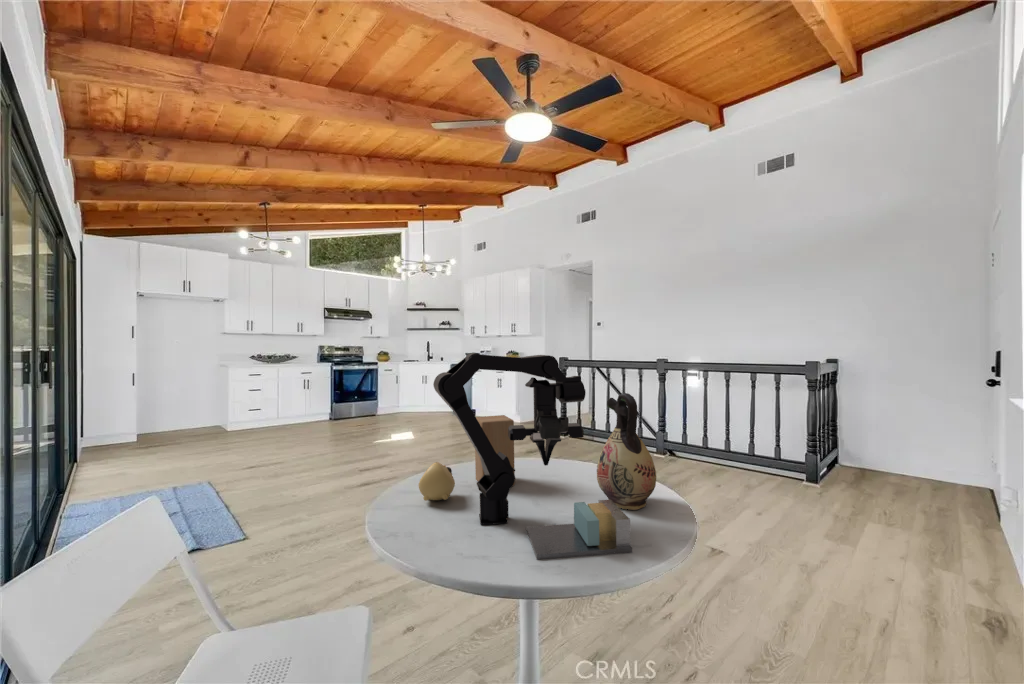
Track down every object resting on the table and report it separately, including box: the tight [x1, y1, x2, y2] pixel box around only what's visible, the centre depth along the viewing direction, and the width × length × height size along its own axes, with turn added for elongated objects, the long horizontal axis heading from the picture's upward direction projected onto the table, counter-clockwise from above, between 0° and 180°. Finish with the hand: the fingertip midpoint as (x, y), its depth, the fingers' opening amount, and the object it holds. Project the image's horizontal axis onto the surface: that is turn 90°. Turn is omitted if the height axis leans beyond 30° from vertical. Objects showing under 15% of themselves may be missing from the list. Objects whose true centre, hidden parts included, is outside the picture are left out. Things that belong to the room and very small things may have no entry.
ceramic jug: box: [596, 392, 657, 511], centre depth 124 cm, size 17×15×30 cm
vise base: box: [525, 499, 633, 561], centre depth 103 cm, size 20×14×6 cm
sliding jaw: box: [573, 501, 599, 546], centre depth 103 cm, size 2×11×5 cm, turn 7°
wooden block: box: [474, 414, 516, 487], centre depth 144 cm, size 10×10×20 cm
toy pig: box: [418, 461, 456, 502], centre depth 130 cm, size 10×12×11 cm
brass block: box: [587, 502, 612, 541], centre depth 103 cm, size 4×6×6 cm, turn 7°
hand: (545, 465), depth 120 cm, fingers closed
